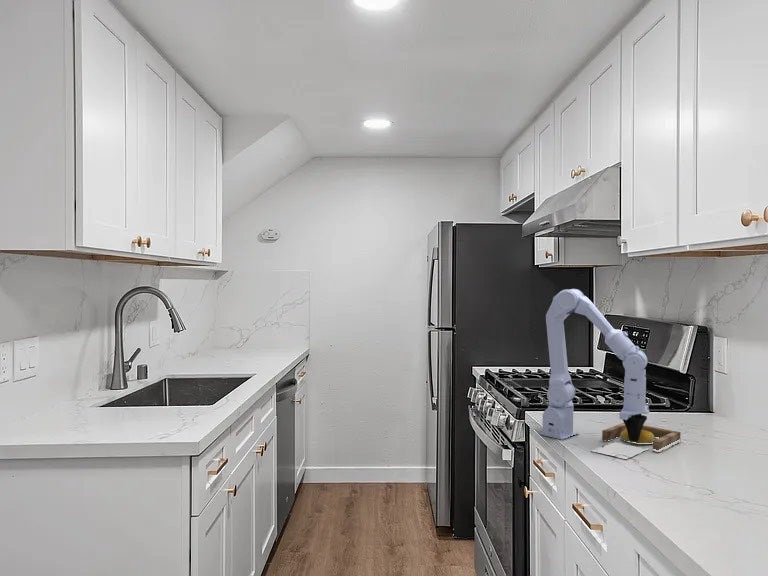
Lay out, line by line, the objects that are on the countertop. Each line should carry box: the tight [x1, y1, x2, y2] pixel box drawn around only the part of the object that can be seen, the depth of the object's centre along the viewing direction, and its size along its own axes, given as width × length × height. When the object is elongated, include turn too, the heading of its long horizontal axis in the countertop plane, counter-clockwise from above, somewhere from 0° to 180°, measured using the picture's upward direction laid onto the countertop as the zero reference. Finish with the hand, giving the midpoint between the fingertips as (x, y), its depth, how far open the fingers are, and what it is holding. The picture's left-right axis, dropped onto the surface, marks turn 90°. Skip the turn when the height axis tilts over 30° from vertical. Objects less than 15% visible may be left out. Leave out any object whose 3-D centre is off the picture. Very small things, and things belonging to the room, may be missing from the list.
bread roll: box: [620, 428, 656, 443], centre depth 178 cm, size 8×9×4 cm
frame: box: [601, 422, 681, 450], centre depth 178 cm, size 15×16×3 cm
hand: (633, 440), depth 174 cm, fingers closed
